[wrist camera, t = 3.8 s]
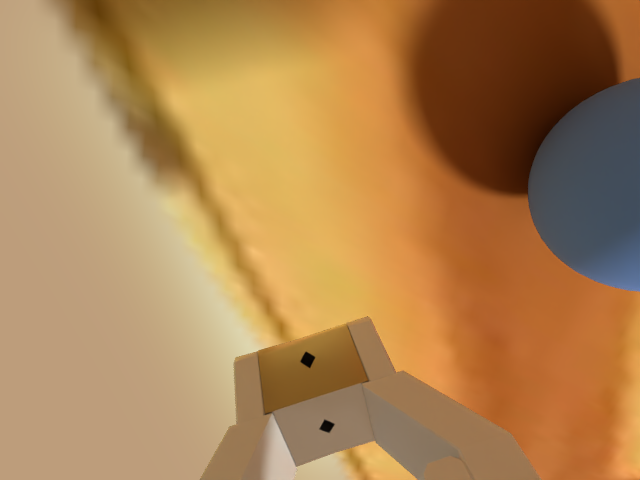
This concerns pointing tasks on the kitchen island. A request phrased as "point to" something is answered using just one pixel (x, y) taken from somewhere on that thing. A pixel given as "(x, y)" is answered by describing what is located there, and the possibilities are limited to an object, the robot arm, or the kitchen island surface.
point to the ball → (593, 187)
